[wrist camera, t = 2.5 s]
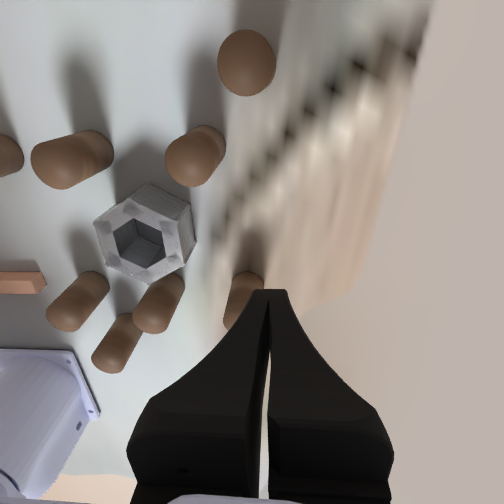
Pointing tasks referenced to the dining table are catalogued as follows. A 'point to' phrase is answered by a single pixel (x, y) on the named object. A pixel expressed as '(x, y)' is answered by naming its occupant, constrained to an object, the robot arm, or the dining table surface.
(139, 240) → the steel nut
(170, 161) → the walnut spacers
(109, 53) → the dining table surface
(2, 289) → the parts bay
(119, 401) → the dining table surface
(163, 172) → the dining table surface
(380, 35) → the dining table surface
